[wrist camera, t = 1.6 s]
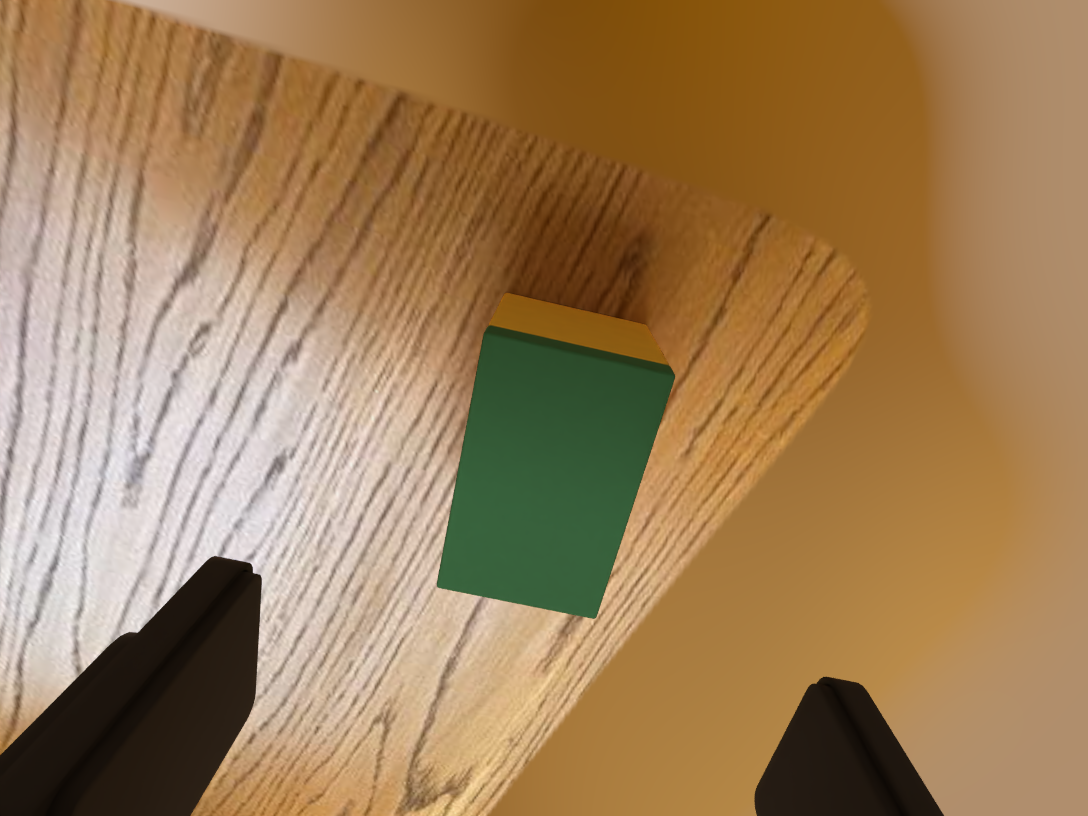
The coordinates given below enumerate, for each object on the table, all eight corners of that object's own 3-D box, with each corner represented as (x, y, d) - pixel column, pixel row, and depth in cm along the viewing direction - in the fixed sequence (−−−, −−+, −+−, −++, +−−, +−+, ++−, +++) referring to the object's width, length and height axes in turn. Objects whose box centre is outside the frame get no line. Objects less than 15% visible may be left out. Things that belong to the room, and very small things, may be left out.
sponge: (504, 291, 18) (483, 332, 13) (647, 324, 18) (677, 375, 13) (464, 495, 20) (435, 588, 16) (588, 521, 21) (596, 620, 16)
